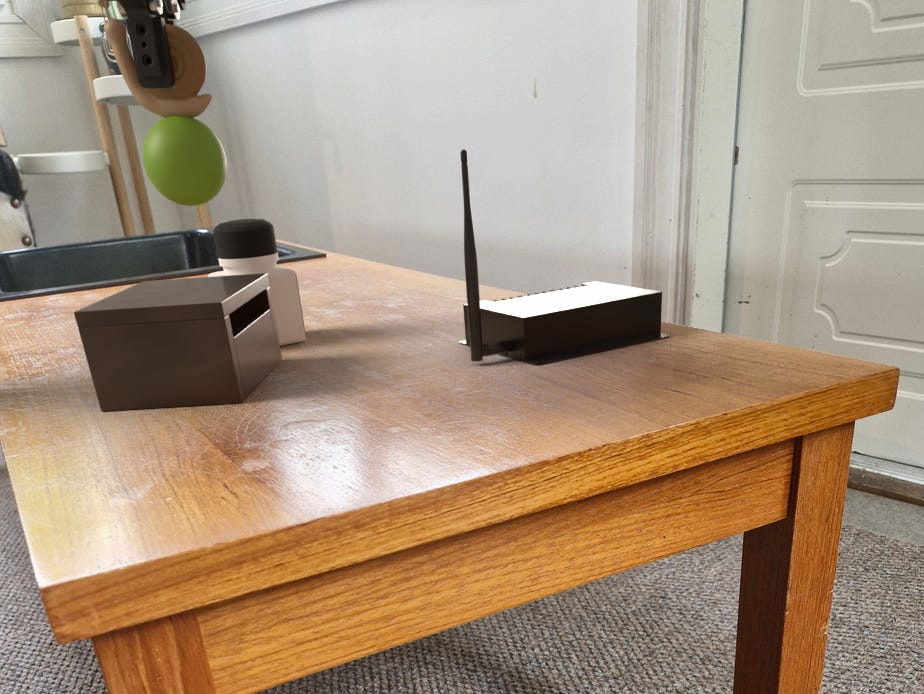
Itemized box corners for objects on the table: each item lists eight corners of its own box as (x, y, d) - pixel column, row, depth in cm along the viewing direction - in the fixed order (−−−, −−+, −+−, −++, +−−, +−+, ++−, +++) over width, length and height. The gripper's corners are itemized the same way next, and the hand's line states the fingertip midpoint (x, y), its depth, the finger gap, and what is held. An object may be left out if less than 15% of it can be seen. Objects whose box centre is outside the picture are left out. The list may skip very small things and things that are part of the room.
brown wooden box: (101, 411, 75) (73, 311, 71) (163, 366, 89) (143, 281, 85) (241, 403, 75) (221, 302, 71) (282, 359, 88) (267, 272, 84)
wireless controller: (584, 317, 97) (583, 136, 88) (673, 336, 86) (681, 131, 78) (421, 349, 88) (403, 151, 80) (498, 373, 78) (485, 148, 69)
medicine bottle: (307, 341, 95) (288, 217, 89) (244, 353, 92) (220, 225, 86) (281, 332, 101) (261, 215, 95) (220, 343, 97) (195, 222, 91)
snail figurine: (155, 205, 65) (114, 3, 59) (242, 201, 64) (210, -3, 58) (126, 211, 60) (79, -9, 54) (220, 206, 60) (183, -16, 54)
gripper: (81, -230, 56) (146, 94, 65) (-36, -323, 44) (62, 88, 53) (199, -239, 56) (248, 88, 64) (112, -335, 44) (186, 81, 53)
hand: (164, 87), depth 59 cm, fingers closed on snail figurine
